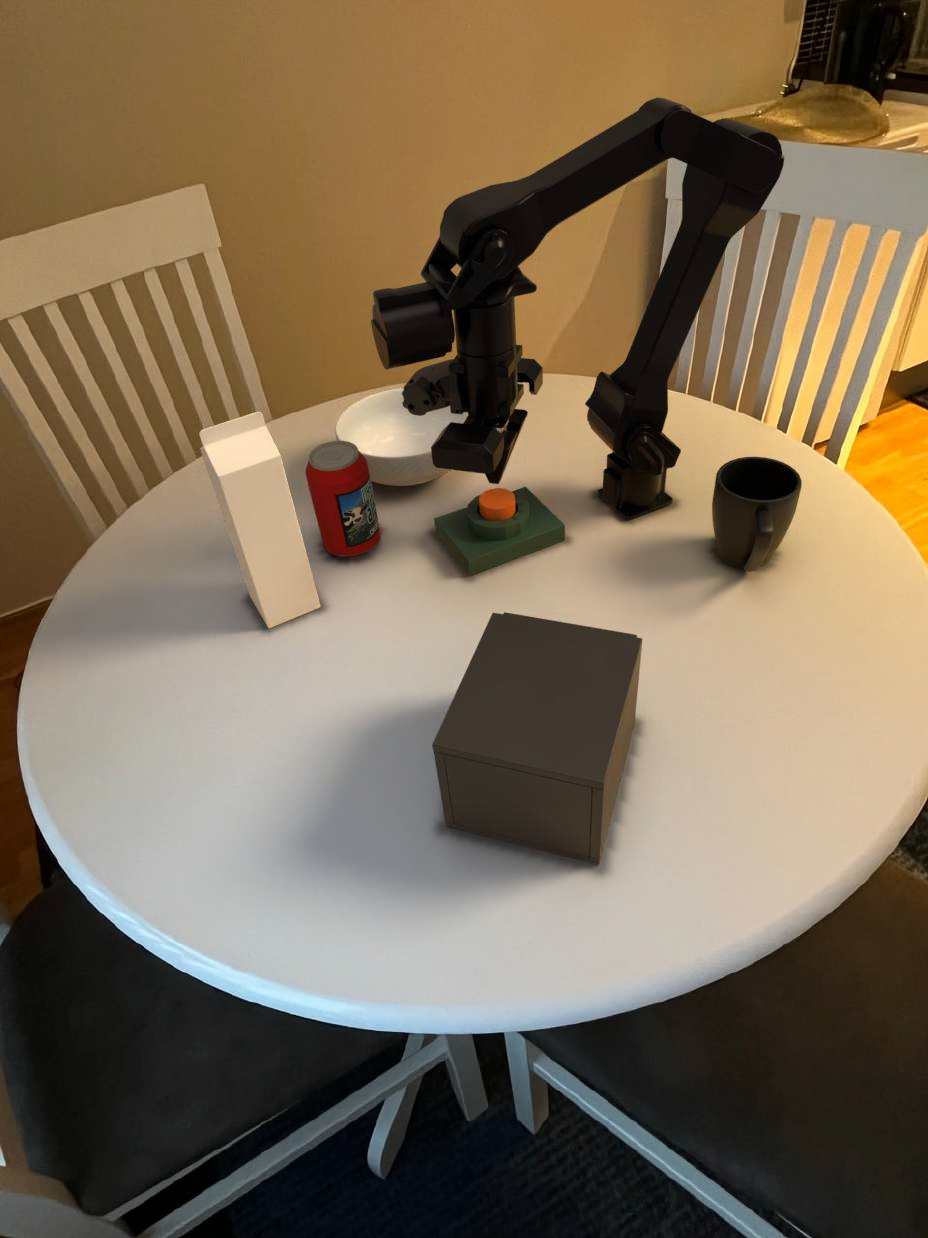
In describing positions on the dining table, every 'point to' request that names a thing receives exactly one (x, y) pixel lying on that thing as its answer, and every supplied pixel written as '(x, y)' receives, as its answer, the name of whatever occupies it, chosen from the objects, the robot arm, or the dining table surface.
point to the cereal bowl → (395, 437)
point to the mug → (753, 509)
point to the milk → (260, 517)
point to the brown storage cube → (540, 735)
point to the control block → (498, 533)
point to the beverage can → (342, 498)
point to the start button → (497, 504)
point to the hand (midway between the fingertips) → (494, 481)
